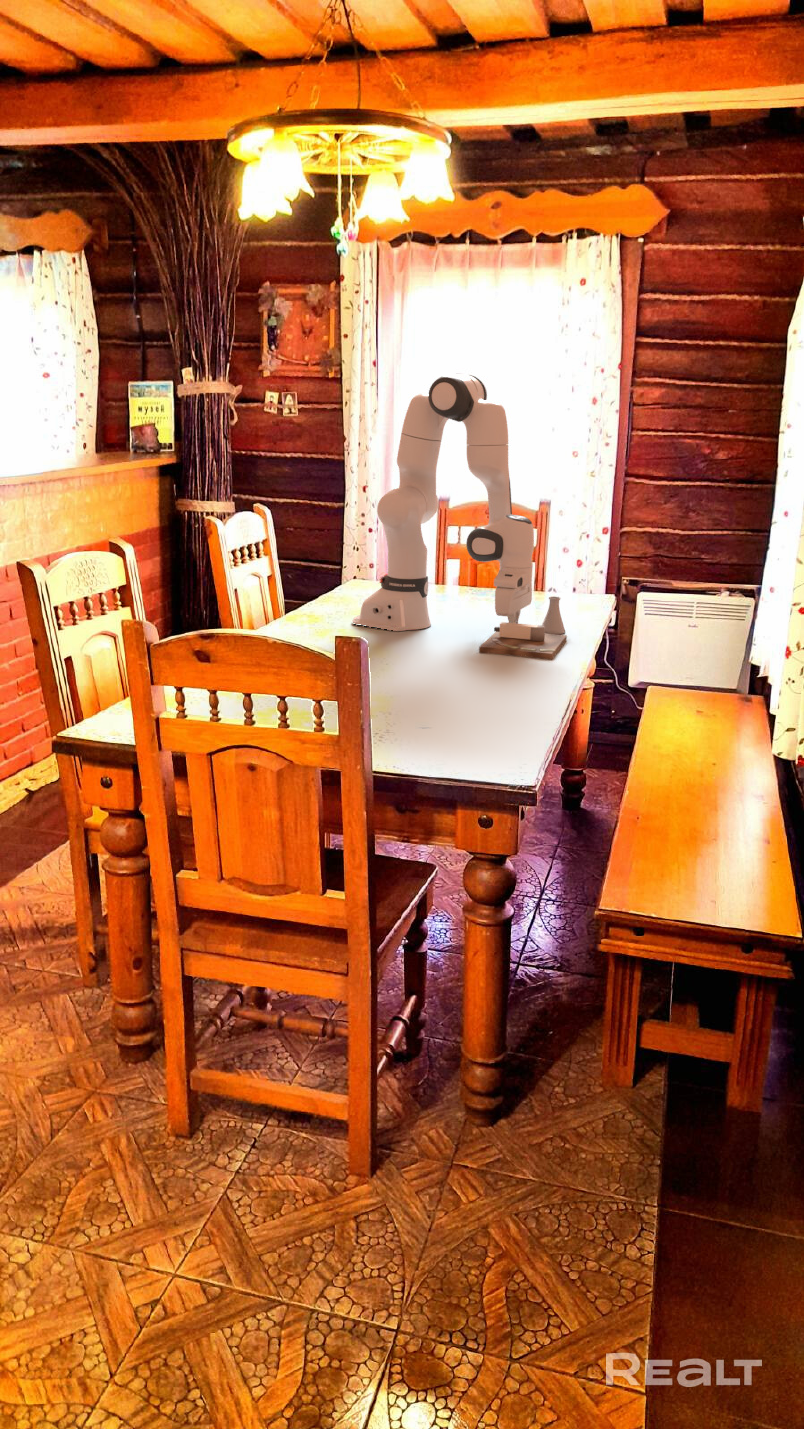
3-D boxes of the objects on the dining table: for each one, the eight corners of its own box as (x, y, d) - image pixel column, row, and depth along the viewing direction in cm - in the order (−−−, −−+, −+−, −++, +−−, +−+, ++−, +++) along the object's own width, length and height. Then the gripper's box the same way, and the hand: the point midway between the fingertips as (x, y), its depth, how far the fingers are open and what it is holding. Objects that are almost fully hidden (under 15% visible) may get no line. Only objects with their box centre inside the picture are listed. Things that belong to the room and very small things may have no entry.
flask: (564, 635, 290) (567, 600, 287) (538, 634, 291) (540, 599, 288) (565, 630, 297) (568, 595, 294) (540, 628, 298) (542, 594, 295)
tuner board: (479, 652, 270) (479, 645, 269) (498, 634, 290) (498, 628, 289) (552, 659, 264) (553, 653, 264) (567, 640, 284) (568, 634, 284)
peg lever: (545, 638, 279) (546, 625, 278) (542, 641, 275) (543, 628, 274) (496, 634, 283) (496, 621, 282) (492, 637, 279) (493, 624, 278)
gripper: (517, 569, 291) (514, 618, 295) (491, 581, 273) (489, 632, 277) (538, 571, 288) (536, 620, 292) (514, 583, 271) (511, 635, 275)
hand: (513, 626), depth 285 cm, fingers closed
